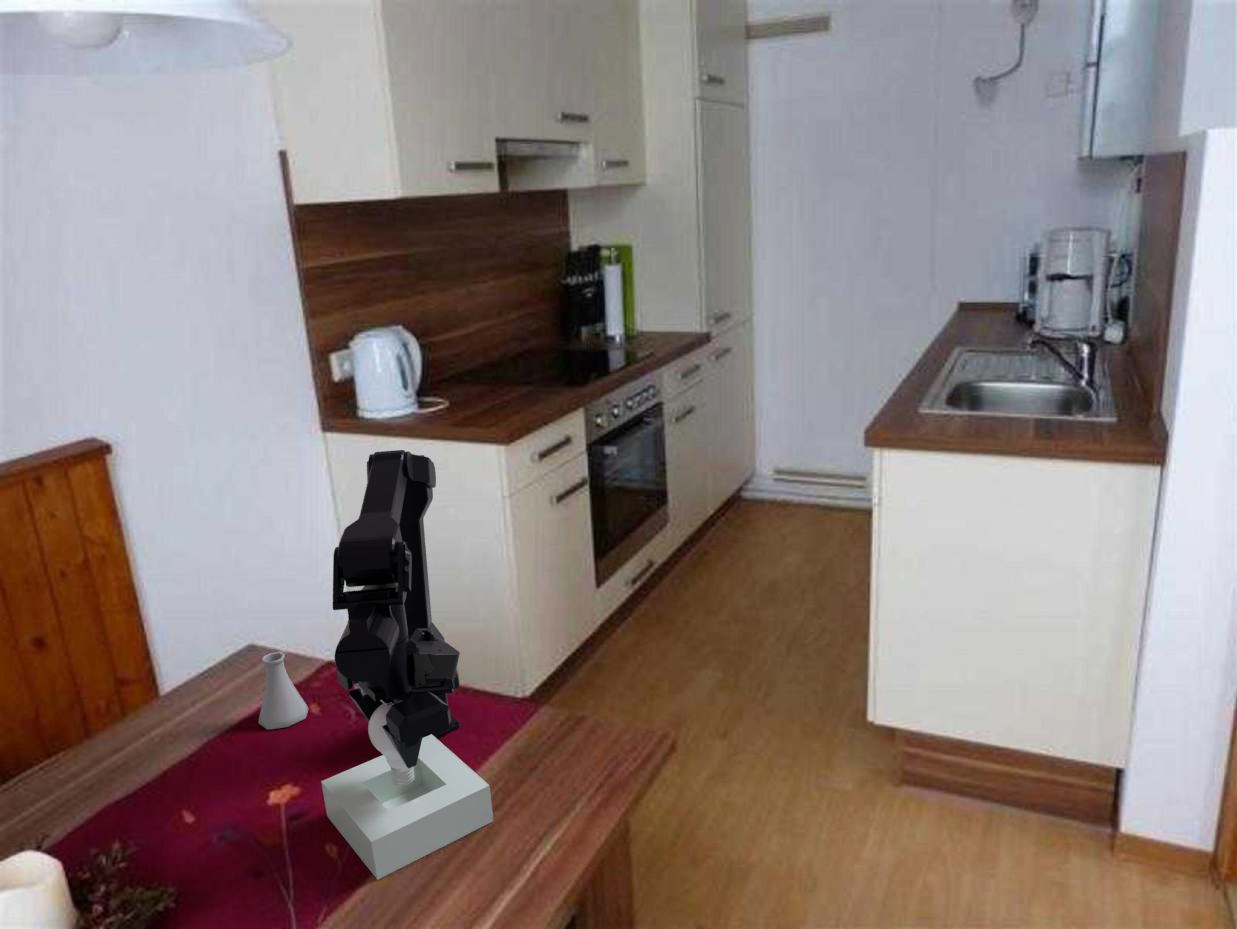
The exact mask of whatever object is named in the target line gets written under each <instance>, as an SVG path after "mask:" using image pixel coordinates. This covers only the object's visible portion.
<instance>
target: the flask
mask: <svg viewBox="0 0 1237 929" xmlns="http://www.w3.org/2000/svg"><path fill="white" fill-rule="evenodd" d="M285 657H286V656H285V653H283V652H281V651H276V652H270V653H268V654H266V655H263V656H262V658H261V663H262V664H263V665H264V669H265V684H264V685H265V686H264V692H263V698H262V704H261V707H260V711H259V717H258V724H259V725H260V726H262V727H263V728H265V730H267V731H268V730H275V729H281V728H283V729H284V728H288V727H291V726H292V725H295V724H297V723H299V722H301V721H304V720H305V719H307V716H308V712H309V707H308V705H307V704H306V701H304V699H303V697H302V695H300V693H299V691H298V690H297V688H296V687H295V685H294V684H293V682H292V680H291V679H290V676H289V675H288V672H287V670H286V667H285V663H284V660H285Z"/></svg>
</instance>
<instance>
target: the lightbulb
mask: <svg viewBox="0 0 1237 929" xmlns="http://www.w3.org/2000/svg"><path fill="white" fill-rule="evenodd" d="M392 705H394V704H391V705H388V706H386V705H385V704H382V705H380V706H379V707H378V708H377V709H376V710H375V711H374V712H373V714H372V716H371V718H370V721H369V722H368V727H367V731H368V737H369V740H370V742H371V744H372V745H373V747H374V748H375V749H376V750H378V752H380V754H382V755H384V756H385V758H386V761H387V763H388V764H389V766H390V769H391V775H392V781H393V784H394V785H396V786H406V785H408V784H410V783H412V782H413V781H414V779H415V775H414V767H411V768H407V767H406V765H405V763H404V762H403V760H402V759H401V757H400V755H399V754H398V752H397V751H396V749H395V747H394V746H393V744H392V742H391V741H390V739H389V738H388V736H387V734H386V733H385V731H384V729H383V728H382V726H384V725H386V724H387V722H386V714H387V713H388V711H389V709H390V708H391V706H392Z"/></svg>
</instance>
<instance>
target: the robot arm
mask: <svg viewBox="0 0 1237 929" xmlns="http://www.w3.org/2000/svg"><path fill="white" fill-rule="evenodd" d="M366 476H367V477H366V480H367V482H366V483H367V484H366V487H365V491H364V496H363V500H362V505H361V508H360V513H359V516H358V519H356V520H355V521H354V522H352V523H350V524H349V525H347V526H346V527H345V528H344V530H343V532H342V535H341V538H340V540H339V542H338V546H336V547H335V548H334V551H333V556H332V557H333V560H332V561H333V562H332V563H333V565H332V566H333V567H332V568H333V570H332V610H333V611H340V610H341V611H342V610H347V614H348V616H347V617H348V621H347V624H346V626H345V628H344V630H343V633H342V634H341V637H340V638H339V641H338V643H337V646H336V647H335V652H334V656H333V657H334V662H335V666H336V676H337V680H338V681H337V682H338V684H339V685H340V686H341V687H343V688H344V689H345V690H346V691H349V690H350V691H349V692H348V696H349V698H351V699H352V702H353V703H354V704H355V706H356V707H357V708H358V709H359V711H360V712H361V714H362V715H363V716H364V718H365V719H366V721H367V722H368V723H369V721H370V718H371V716H372V714H373V712H374V711H375V710H376V709H377V708H378V707H379V706H380V705H382V704H385V705H386V706H388V705H391V704H394V705H392V706H391V708H390V709H389V711H388V713H387V714H386V722H387V724H386V725H384V726H382V728H383V729H384V731H385V733H386V734H387V736H388V738H389V739H390V741H391V742H392V744H393V746H394V747H395V749H396V751H397V752H398V754H399V755H400V757H401V759H402V760H403V762H404V763H405V765H406V767H407V768H411V767H413V766H415V765H416V764H417V760H418V756H419V751H420V747H421V742H422V738H424V737H426V736H429V735H431V734H432V735H433V736H434V737H435V738H438V737H440V736H442V735H445V734H447V733H449V732H452V731H454V730H455V729H458V728H460V727H461V723H460V722H459V721H458V720H457V719H456V718H455V717H453V716H452V715H451V708H450V705H449V702H448V701H449V700H448V695H447V694H454V692H455V690H456V689H457V688H459V687H460V686H461V684H460V675H459V671H458V668H457V667H458V663H459V658H460V655H461V654H460V653H461V652H460V651H459V650H457V649H456V648H455V647H453V646H452V645H450V643H448V642H446V640H445V637H444V636H443V634H442V633H441V631H439V629H438V628H437V627H436V625H435V624H434V622H433V619H432V610H431V609H432V606H431V596H430V595H431V594H430V585H429V584H430V583H429V570H428V561H427V560H428V559H427V548H426V537H425V536H426V535H425V534H426V533H425V524H424V517H425V515H426V513H427V512H428V510H429V508H430V505H431V503H432V501H433V499H434V493H433V491H434V490H433V488H436V486H437V475H436V467H435V463H434V462H433V461H432V459H431V458H430V457H428V456H425V455H424V454H419V455H418V454H413V453H411V452H410V451H406V450H404V449H399V450H397V449H395V450H386V451H385V450H384V451H375V452H374V453H371V454H369V456H368V460H367V461H366ZM345 586H346V587H347V588H355V587H362V588H361V589H359V590H349V591H348V590H347V591H346V590H345ZM344 590H345V591H344ZM353 687H354V689H353ZM351 689H352V690H351Z"/></svg>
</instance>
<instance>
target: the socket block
mask: <svg viewBox="0 0 1237 929" xmlns="http://www.w3.org/2000/svg"><path fill="white" fill-rule="evenodd" d="M413 767H414V775H415V779H414V781H413V782H412V783H410V784H408V785H406V786H396V785H394V784H393V781H392V775H391V769H390V766H389V764H388V763H387V761H386V758H385V756H384V755H383V754H382V755H380V756H378V757H377V756H376V757H374V758H373V759H370V760H367V761H366V762H363V763H361V764H359V765H357V766H354V767H351V768H349V769H347V770H345V771H342V772H340V773H337V774H335V775H332V776H331V777H328V778H326V779H324V780H321V781H320V782H321V789H322V793H323V799H324V806H325V812H326V817H327V818H328V819H329V820H330V822H331V823H332V824H333V826H334V827H335V828H336V829H337V831H338V832H339V833H340V834H341V836H342V837H343V838H344V839H345V841H346V842H347V844H348V845H349V846H350V847H351V848H352V850H353V851H354V852H355V853H356V854H357V856H358V857H359V859H361V861H362V862H363V864H364V865H365V866H366V867H367V869H368V870H369V871H370V872H371V873H372V875H373V876H374V877H375V879H376V880H378V881H379V880H380V879H382V878H384V877H386V876H388V875H390V874H392V873H394V872H396V871H397V870H399V869H402V868H404V867H406V866H408V865H410V864H412V863H414V862H415V861H417V860H420V859H421V858H423V857H425V856H427V855H430V854H432V853H434V852H435V851H437V850H440V849H441V848H443V847H446V846H448V845H449V844H452V843H453V842H455V841H457V840H459V839H461V838H463V837H465V836H467V835H469V834H472V833H473V832H475V831H477V830H479V829H481V828H483V827H484V826H486V825H488V824H490V823H493V822H494V813H493V812H494V811H493V806H492V805H493V804H492V796H491V786H490V784H489V783H488V782H486V781H485V780H484V779H483V778H482V777H481V776H479V774H477V773H476V772H475V771H474V770H473V769H472V768H471V767H470V766H469V765H467V764H466V763H465V762H464V761H462V760H461V758H460V757H458V756H457V755H456V754H455V753H454V752H453V751H452V750H451V749H449V748H448V747H447V746H446V745H444V744H443V743H442V742H441V741H440V740H439V739H438V737H434V736H433V735H432V734H431V735H429V736H426V737H424V738H422V742H421V747H420V751H419V756H418V760H417V764H416V765H415V766H413Z"/></svg>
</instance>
